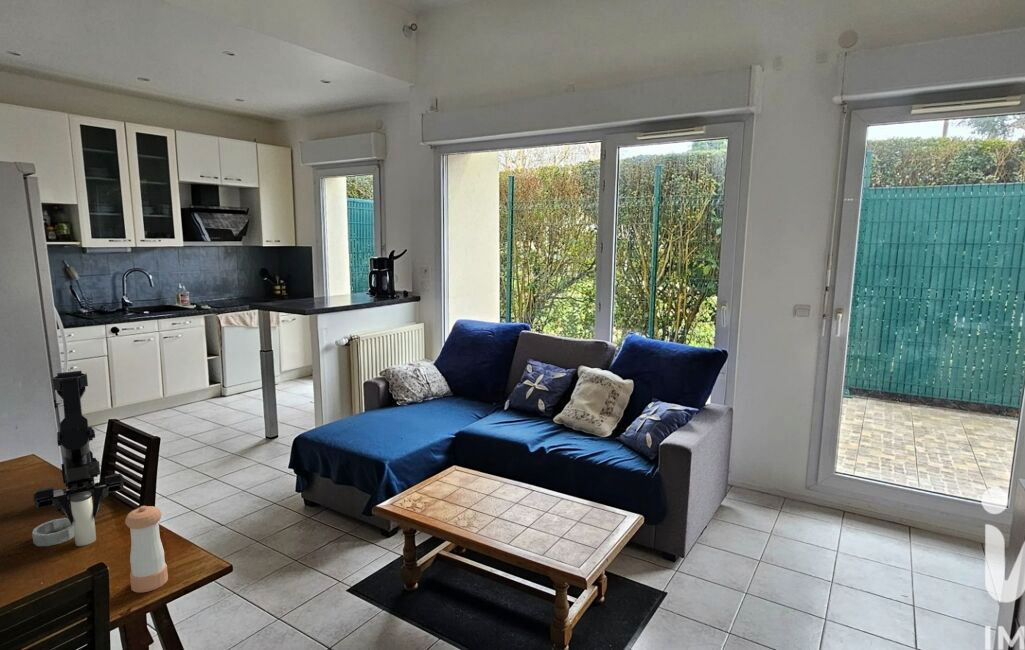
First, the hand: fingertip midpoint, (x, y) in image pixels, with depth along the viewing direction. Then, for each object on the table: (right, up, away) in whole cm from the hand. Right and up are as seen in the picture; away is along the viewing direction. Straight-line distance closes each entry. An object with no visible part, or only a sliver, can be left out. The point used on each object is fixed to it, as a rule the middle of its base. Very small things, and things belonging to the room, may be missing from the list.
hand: (83, 520), depth 146 cm
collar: (-10, -6, +4) cm, 13 cm away
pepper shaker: (+27, -10, -15) cm, 32 cm away
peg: (-1, -6, +2) cm, 7 cm away
